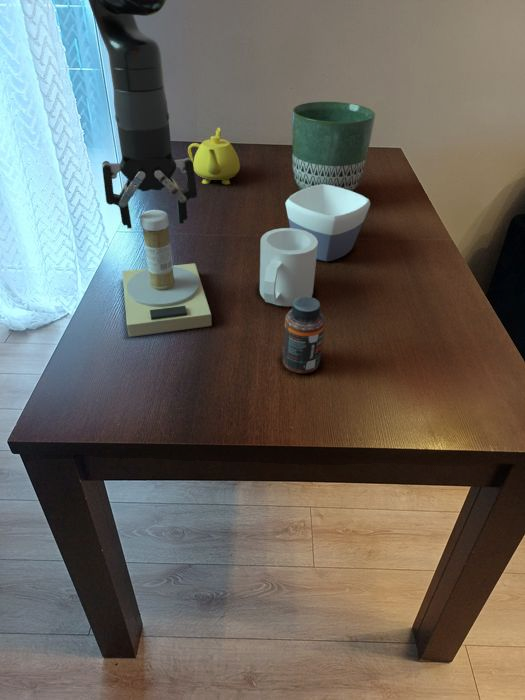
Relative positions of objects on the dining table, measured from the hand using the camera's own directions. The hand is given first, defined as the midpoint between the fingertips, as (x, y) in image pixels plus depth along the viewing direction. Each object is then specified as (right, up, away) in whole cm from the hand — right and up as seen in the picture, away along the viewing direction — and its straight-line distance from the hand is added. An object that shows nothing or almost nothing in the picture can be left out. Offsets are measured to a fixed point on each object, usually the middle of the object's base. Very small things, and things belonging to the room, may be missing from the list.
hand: (155, 224), depth 82 cm
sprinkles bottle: (0, -9, +7) cm, 12 cm away
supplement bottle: (+24, -23, -4) cm, 34 cm away
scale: (0, -12, +8) cm, 15 cm away
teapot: (+4, +27, +58) cm, 64 cm away
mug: (+22, -11, +12) cm, 27 cm away
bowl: (+31, +1, +26) cm, 41 cm away
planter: (+34, +19, +48) cm, 62 cm away
